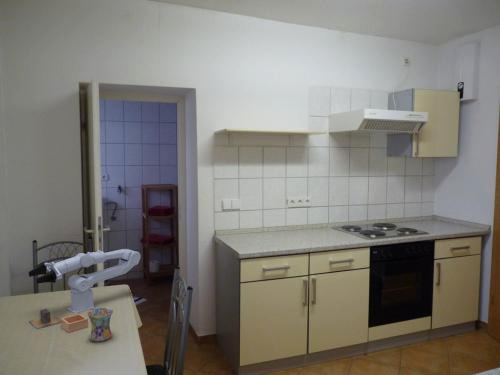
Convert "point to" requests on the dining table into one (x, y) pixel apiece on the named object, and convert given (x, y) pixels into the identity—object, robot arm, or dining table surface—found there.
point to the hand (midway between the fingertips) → (32, 277)
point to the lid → (45, 320)
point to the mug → (100, 324)
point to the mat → (41, 328)
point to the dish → (74, 323)
